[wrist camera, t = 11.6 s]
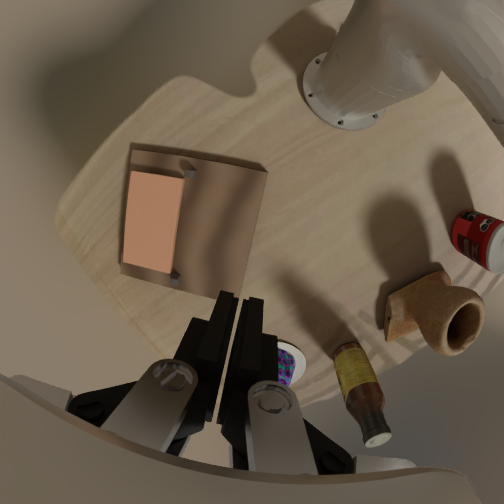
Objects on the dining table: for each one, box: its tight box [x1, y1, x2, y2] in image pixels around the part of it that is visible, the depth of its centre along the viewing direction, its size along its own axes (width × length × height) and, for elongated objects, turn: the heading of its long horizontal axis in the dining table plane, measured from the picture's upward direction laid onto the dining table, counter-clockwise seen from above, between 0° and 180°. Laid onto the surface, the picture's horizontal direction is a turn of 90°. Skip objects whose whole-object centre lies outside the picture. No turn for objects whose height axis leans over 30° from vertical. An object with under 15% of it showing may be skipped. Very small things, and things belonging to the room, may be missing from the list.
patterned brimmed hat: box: [278, 342, 306, 387], centre depth 45 cm, size 12×12×5 cm
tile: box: [123, 171, 185, 274], centre depth 37 cm, size 8×14×1 cm, turn 168°
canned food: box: [451, 210, 504, 274], centre depth 31 cm, size 8×8×11 cm
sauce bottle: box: [333, 343, 392, 447], centre depth 36 cm, size 6×6×20 cm
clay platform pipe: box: [384, 271, 485, 356], centre depth 34 cm, size 15×12×15 cm
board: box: [121, 150, 268, 299], centre depth 38 cm, size 20×20×3 cm
